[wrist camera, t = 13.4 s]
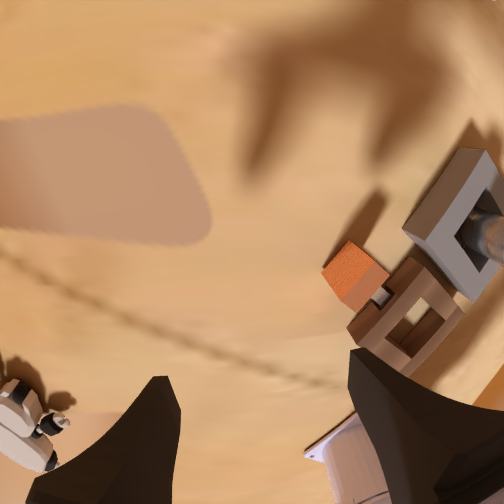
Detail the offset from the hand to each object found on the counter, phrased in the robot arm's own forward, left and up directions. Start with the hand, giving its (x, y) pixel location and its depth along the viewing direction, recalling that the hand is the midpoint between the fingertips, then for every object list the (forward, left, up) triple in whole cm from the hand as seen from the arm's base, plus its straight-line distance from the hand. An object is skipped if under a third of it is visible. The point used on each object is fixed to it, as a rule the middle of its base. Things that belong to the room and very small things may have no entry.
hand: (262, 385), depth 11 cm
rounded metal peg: (-10, -14, -9) cm, 19 cm away
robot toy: (+10, +28, -10) cm, 31 cm away
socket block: (-12, -5, -9) cm, 16 cm away
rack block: (-10, -14, -9) cm, 19 cm away
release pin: (-6, -5, -9) cm, 12 cm away
